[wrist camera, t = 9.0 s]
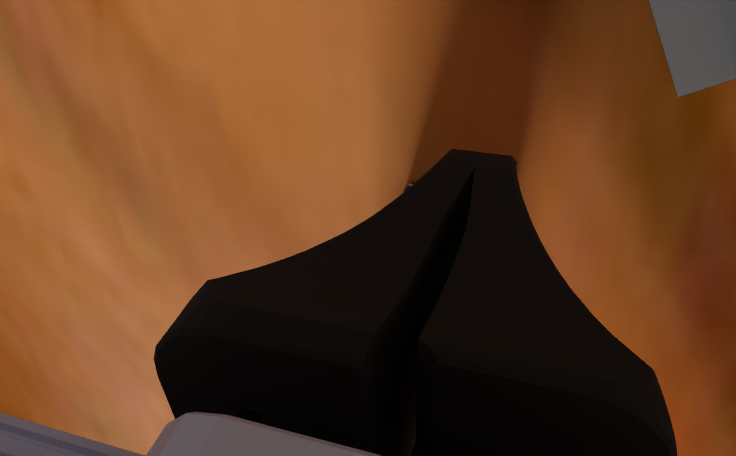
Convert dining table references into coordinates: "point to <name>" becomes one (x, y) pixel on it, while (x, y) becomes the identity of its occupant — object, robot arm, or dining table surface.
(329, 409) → the robot arm
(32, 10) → the dining table surface
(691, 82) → the board
